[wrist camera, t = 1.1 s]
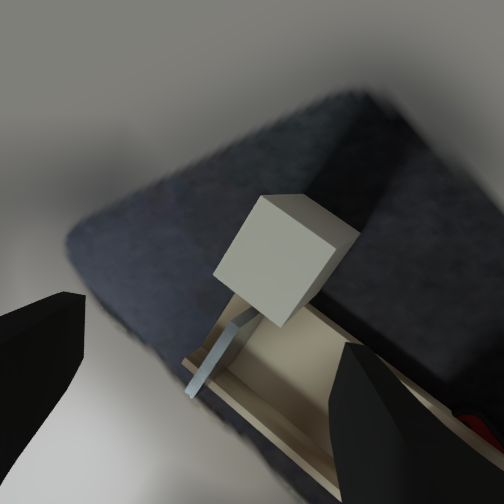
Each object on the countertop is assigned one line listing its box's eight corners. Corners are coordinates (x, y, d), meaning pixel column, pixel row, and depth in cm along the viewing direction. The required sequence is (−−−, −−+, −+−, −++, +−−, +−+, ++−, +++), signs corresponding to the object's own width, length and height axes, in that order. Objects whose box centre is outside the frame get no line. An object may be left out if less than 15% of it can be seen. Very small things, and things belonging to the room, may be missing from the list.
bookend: (273, 303, 26) (239, 328, 21) (232, 363, 27) (192, 398, 23) (265, 297, 26) (230, 320, 21) (224, 357, 28) (184, 391, 23)
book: (360, 233, 24) (336, 248, 18) (317, 293, 26) (280, 328, 19) (303, 193, 25) (260, 195, 19) (264, 254, 27) (212, 274, 20)
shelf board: (526, 467, 23) (539, 505, 20) (440, 544, 25) (441, 589, 22) (257, 264, 27) (238, 273, 24) (204, 346, 29) (181, 363, 26)
